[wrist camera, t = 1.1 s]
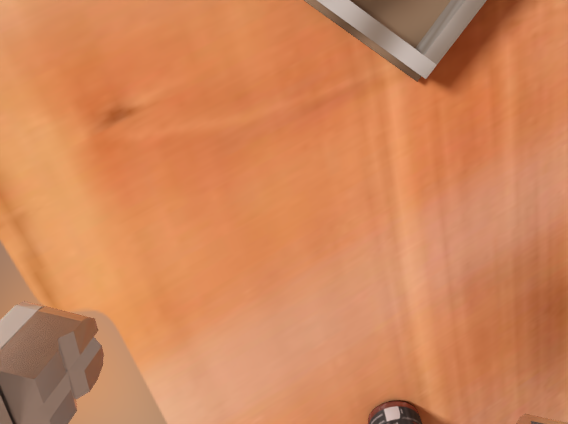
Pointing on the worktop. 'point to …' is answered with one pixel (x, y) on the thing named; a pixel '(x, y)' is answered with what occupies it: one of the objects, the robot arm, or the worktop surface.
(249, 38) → the worktop surface
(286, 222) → the worktop surface
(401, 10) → the socket mount
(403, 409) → the supplement bottle
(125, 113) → the worktop surface
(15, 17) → the worktop surface
